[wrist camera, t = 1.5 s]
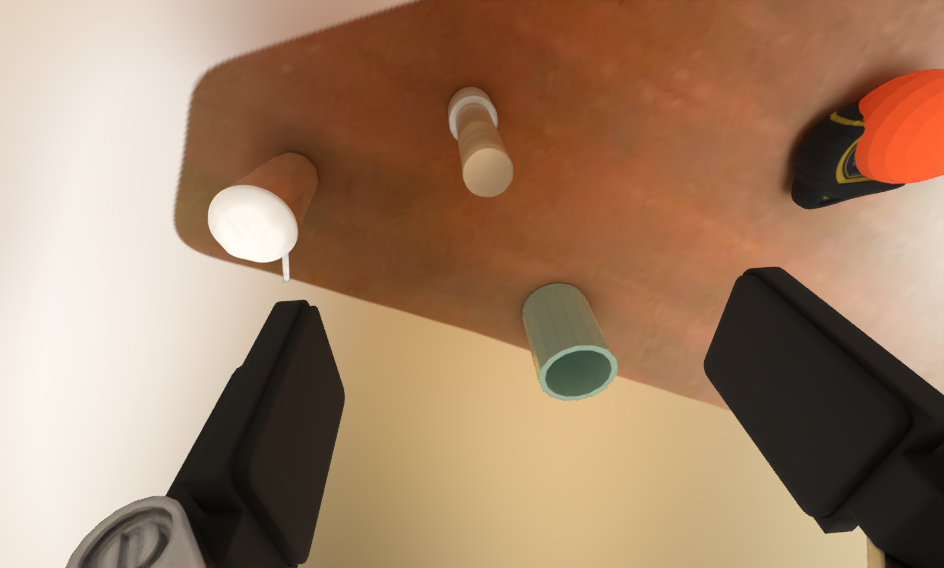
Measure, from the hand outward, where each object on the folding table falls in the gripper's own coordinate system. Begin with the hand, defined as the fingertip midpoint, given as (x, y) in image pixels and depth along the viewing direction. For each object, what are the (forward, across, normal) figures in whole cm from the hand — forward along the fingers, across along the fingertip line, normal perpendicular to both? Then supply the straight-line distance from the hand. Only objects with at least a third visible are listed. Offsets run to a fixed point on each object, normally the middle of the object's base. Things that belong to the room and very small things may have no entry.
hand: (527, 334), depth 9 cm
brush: (+22, 0, 0) cm, 22 cm away
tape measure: (+22, -27, +4) cm, 36 cm away
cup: (+22, -7, +18) cm, 29 cm away
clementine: (+22, -29, +2) cm, 37 cm away
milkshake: (+22, +12, +4) cm, 26 cm away
